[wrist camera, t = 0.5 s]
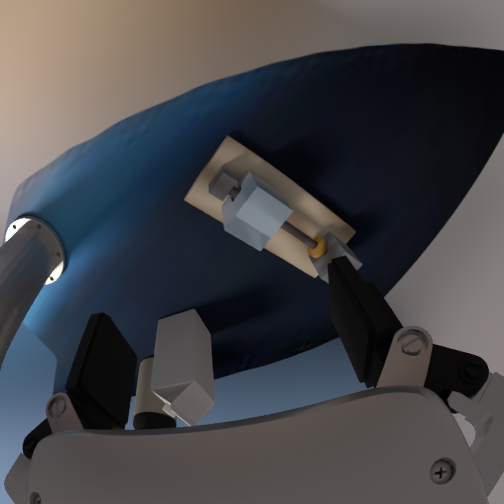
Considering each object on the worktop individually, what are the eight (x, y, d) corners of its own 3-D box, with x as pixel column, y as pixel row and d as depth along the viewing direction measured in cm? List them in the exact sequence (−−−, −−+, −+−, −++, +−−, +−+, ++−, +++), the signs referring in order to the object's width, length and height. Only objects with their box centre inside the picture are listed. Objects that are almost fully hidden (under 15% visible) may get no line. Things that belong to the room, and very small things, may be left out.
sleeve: (251, 225, 40) (260, 251, 34) (221, 206, 38) (224, 229, 32) (279, 190, 38) (293, 211, 32) (248, 169, 36) (257, 186, 30)
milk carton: (194, 307, 48) (195, 405, 32) (210, 333, 52) (217, 425, 36) (158, 318, 48) (148, 413, 32) (176, 343, 52) (174, 433, 36)
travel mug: (156, 381, 58) (153, 453, 42) (132, 362, 54) (122, 438, 38) (184, 371, 57) (185, 447, 41) (161, 351, 53) (155, 432, 37)
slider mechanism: (312, 273, 48) (327, 301, 41) (185, 196, 38) (180, 218, 32) (352, 227, 44) (374, 251, 38) (227, 134, 35) (232, 143, 28)
